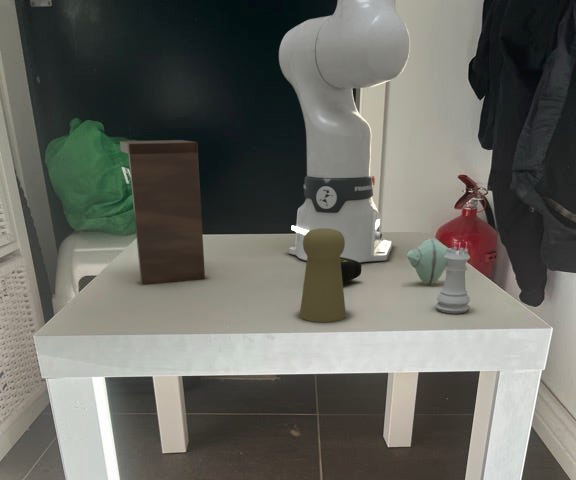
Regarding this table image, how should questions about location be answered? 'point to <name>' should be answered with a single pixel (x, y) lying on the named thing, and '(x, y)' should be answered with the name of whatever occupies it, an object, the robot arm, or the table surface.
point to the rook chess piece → (454, 283)
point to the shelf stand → (166, 209)
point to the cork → (323, 276)
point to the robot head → (428, 260)
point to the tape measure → (349, 269)
